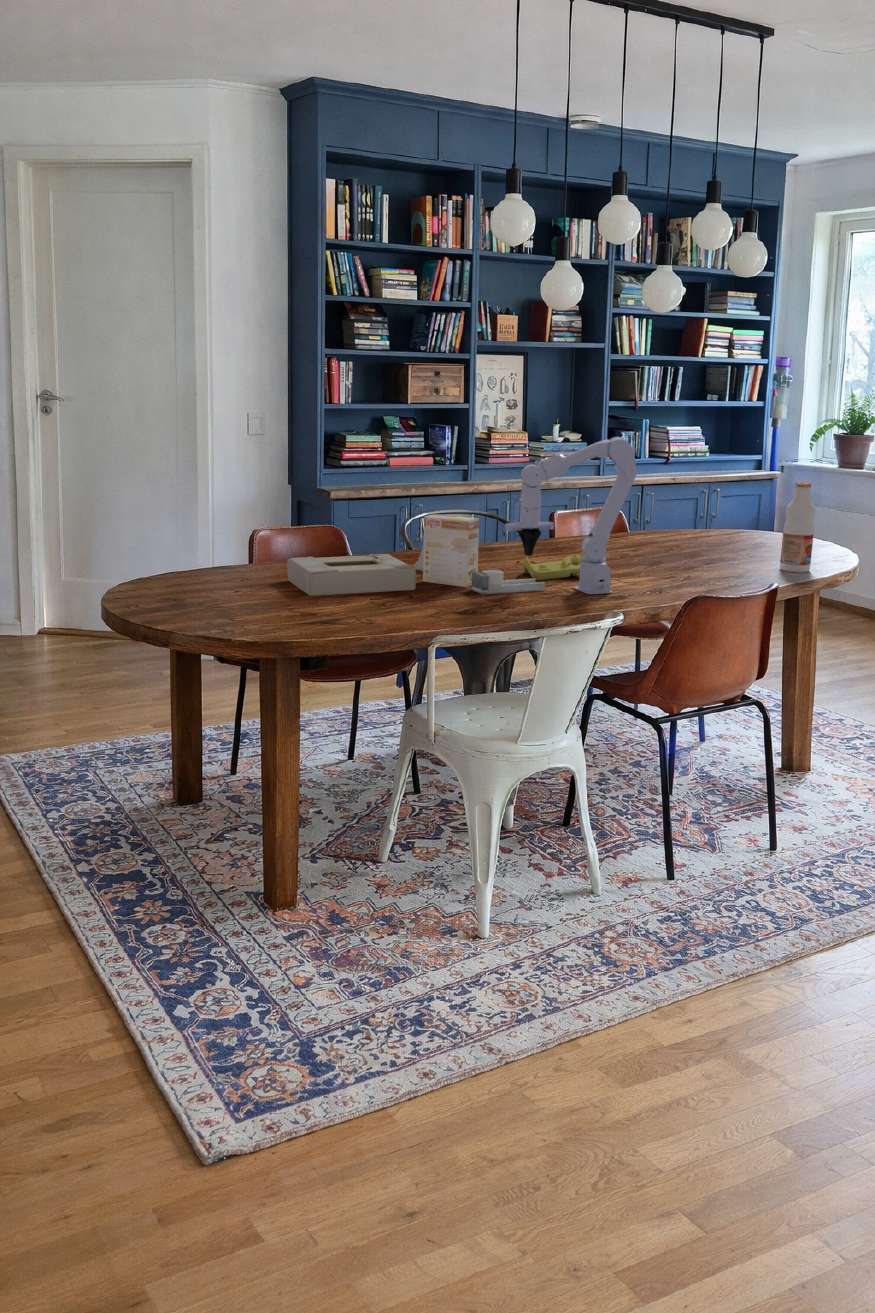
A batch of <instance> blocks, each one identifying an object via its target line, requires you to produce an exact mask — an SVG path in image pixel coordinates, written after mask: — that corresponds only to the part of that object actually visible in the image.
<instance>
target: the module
mask: <svg viewBox="0 0 875 1313" xmlns="http://www.w3.org/2000/svg"><path fill="white" fill-rule="evenodd" d="M481 573H483V574H485V575H488V576H489V586H493V585H503V580H504V576H505V575H504V571H501V570H500V569H488V570H487V569H485V570H482V571H481Z"/></svg>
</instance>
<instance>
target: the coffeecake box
mask: <svg viewBox="0 0 875 1313" xmlns="http://www.w3.org/2000/svg"><path fill="white" fill-rule="evenodd" d="M479 537H480V518H479V517H478V518H477V517H468V516H457V515H448V514H437V513H435V514H429V515H425V516H423V546H424V550H423V571H422V582H423V583H432V584H438V585H447V586H453V587H462V588H469V587H472V572H479V570H478V569H479V566H478V565H479V540H480V538H479Z"/></svg>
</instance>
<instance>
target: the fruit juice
mask: <svg viewBox="0 0 875 1313" xmlns="http://www.w3.org/2000/svg"><path fill="white" fill-rule="evenodd" d="M794 484H795V485H794V488H795V492H794V495H793V497H792V500H791V501H790V502H789V503H788V504H787V506H786V507H785V517H786V519H785V522H784V524H783V529H782V542H781V550H780V551H781V552H780V561H779V569H780V570H781V571H782V572H783V571H784V572H787V573H788V572H789V573H808V572H810V570H811V562H812V553H813V544H814V543H813V542H814V533H815V524H814V519H815V516H816V507H815V504H813V502H812V499H811V494H810V491H811V490H812V482H803V481H802V482H795V483H794Z"/></svg>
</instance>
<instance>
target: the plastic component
mask: <svg viewBox="0 0 875 1313" xmlns="http://www.w3.org/2000/svg"><path fill="white" fill-rule="evenodd" d="M583 554H584V552H583V551H582V550H581V551H580V552H579V553H578V554H577V555H576V554H573V555H568V556H566V557H564V558H563V559H562V560H561V561H560V560H559V561H550V562H541V563H532V562H531V561H530V559H529V557H528V556H527V557H524V558H523V562H522V566H521V570H522V572H523V573H524V574H526V575H527V574H530V577H531V579H536V580H540V581H541V580H551V579H552V580H553V579H561V578H568V577H571V576H574V577H575V576H578V575H580V560H581V557H582V556H583Z"/></svg>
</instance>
